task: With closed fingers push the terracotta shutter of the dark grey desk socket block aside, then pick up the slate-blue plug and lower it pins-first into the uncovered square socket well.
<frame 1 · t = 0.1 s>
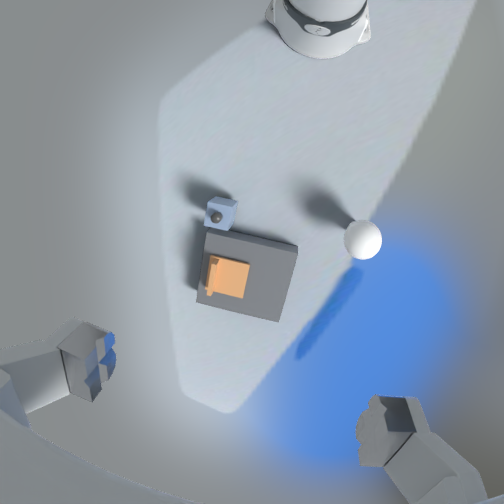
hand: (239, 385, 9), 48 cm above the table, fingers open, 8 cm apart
plug: (226, 207, 56), on the table
shutter: (225, 279, 54), point 6 cm above the table, slide at 0.0 cm
lightbulb: (353, 226, 55), on the table
socket block: (247, 271, 60), on the table
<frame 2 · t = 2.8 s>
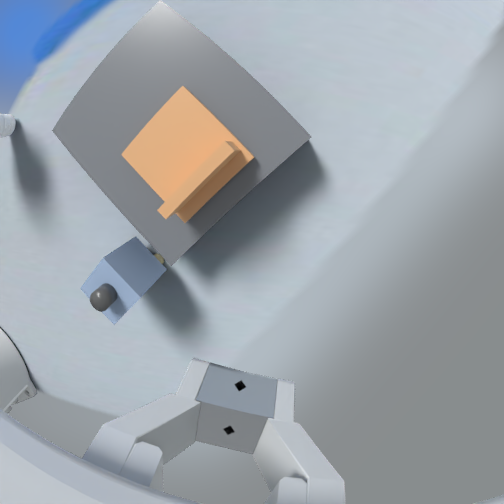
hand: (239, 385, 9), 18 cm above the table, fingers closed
plug: (145, 260, 28), on the table
shutter: (177, 154, 19), point 6 cm above the table, slide at 0.0 cm
lightbulb: (14, 125, 26), on the table
socket block: (178, 127, 24), on the table
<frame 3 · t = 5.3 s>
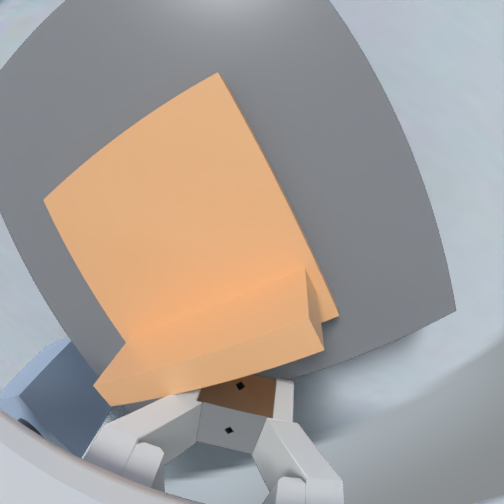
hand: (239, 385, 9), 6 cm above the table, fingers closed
plug: (94, 353, 17), on the table
shutter: (158, 266, 7), point 6 cm above the table, slide at 0.8 cm, touching gripper
socket block: (189, 167, 12), on the table
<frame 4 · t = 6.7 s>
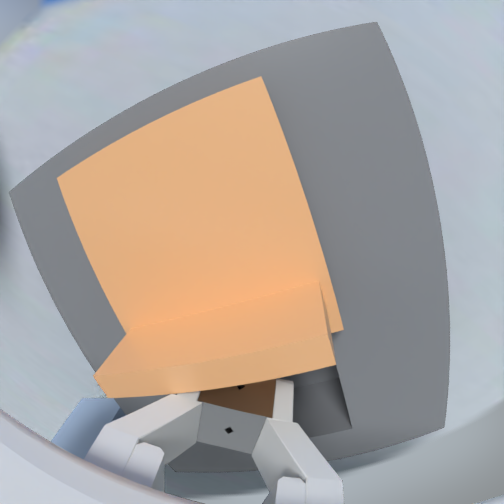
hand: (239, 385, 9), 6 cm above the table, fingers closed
plug: (128, 405, 18), on the table
shutter: (175, 263, 7), point 6 cm above the table, slide at 6.5 cm, touching gripper
socket block: (254, 287, 14), on the table
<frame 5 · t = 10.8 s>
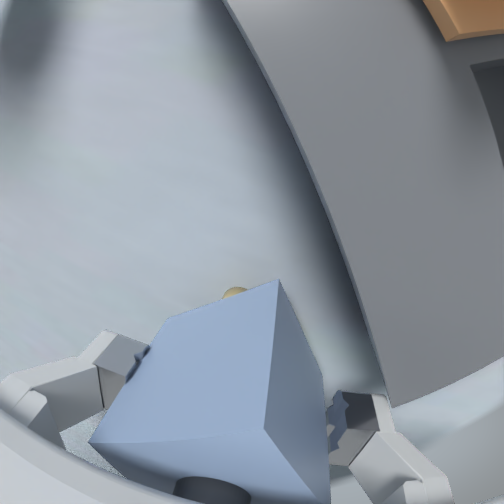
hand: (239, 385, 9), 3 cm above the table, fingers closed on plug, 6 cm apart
plug: (251, 326, 12), on the table, touching gripper
socket block: (465, 67, 7), on the table
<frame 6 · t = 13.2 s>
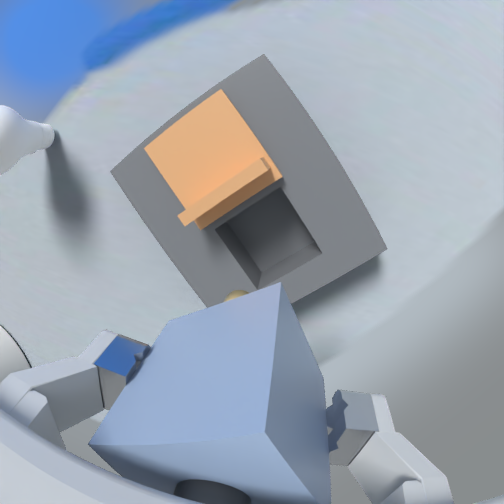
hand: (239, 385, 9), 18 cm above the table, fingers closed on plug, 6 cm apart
plug: (253, 329, 12), point 15 cm above the table, touching gripper
shutter: (205, 160, 19), point 6 cm above the table, slide at 6.8 cm
lightbulb: (52, 136, 25), on the table
socket block: (251, 196, 25), on the table
when the fingers open (5 cm above the table, at t = 15.6 s): plug drops 1 cm, resting on socket block.
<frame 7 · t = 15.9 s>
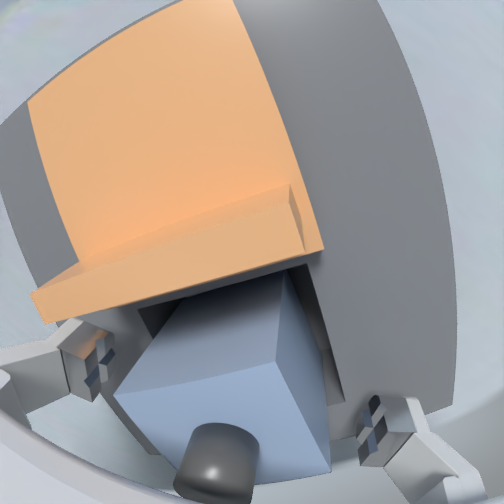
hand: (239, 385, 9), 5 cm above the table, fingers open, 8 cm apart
plug: (257, 311, 13), point 1 cm above the table, touching socket block
shutter: (125, 157, 6), point 6 cm above the table, slide at 6.8 cm
socket block: (234, 240, 13), on the table
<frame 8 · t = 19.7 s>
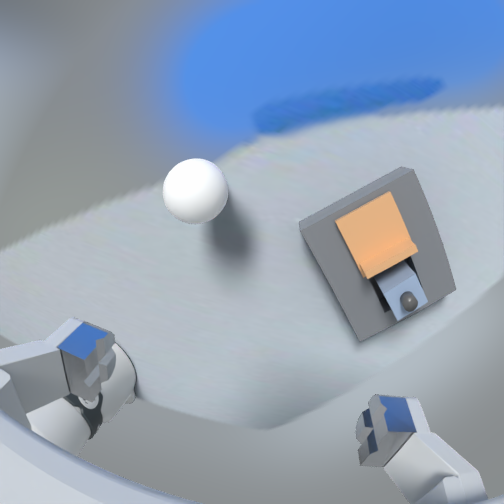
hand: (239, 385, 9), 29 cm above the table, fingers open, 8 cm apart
plug: (389, 272, 36), resting on socket block
shutter: (379, 238, 30), point 6 cm above the table, slide at 6.8 cm
lightbulb: (215, 181, 36), on the table
socket block: (379, 251, 36), on the table
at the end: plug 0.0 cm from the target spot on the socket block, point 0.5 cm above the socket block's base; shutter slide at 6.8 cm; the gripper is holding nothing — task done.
